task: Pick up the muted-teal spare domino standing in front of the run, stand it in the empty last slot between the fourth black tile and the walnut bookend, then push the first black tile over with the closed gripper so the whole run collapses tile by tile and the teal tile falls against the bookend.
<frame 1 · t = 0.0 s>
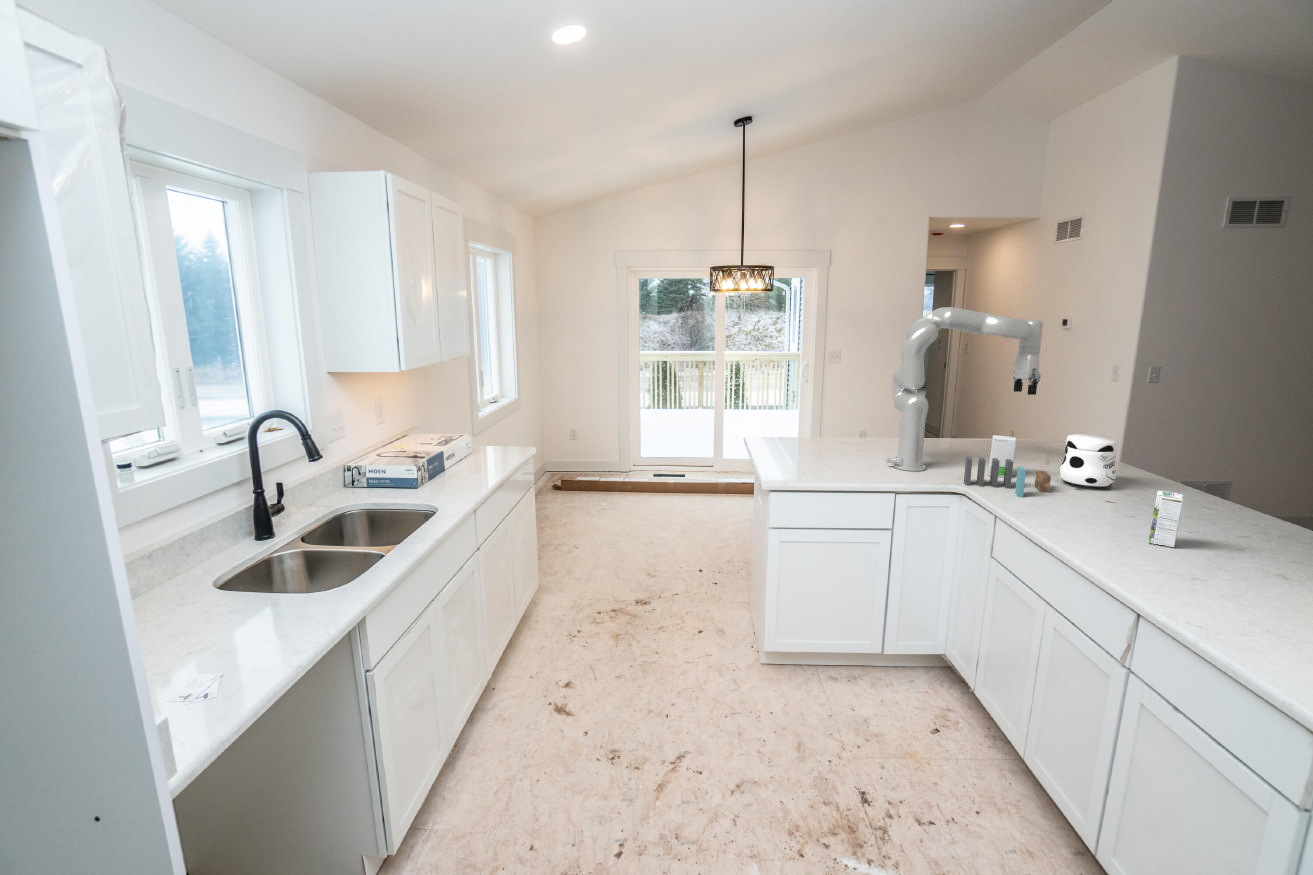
hand: (1024, 393, 251), 31 cm above the countertop, fingers open, 9 cm apart
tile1: (966, 483, 233), on the countertop
skincare box: (999, 475, 245), on the countertop
tile4: (1006, 486, 229), on the countertop
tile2: (979, 484, 232), on the countertop
syrup box: (1161, 544, 172), on the countertop
bookend: (1041, 489, 225), on the countertop
spare domino: (1018, 495, 218), on the countertop
spotted treat jar: (1085, 485, 230), on the countertop
tile3: (993, 485, 230), on the countertop
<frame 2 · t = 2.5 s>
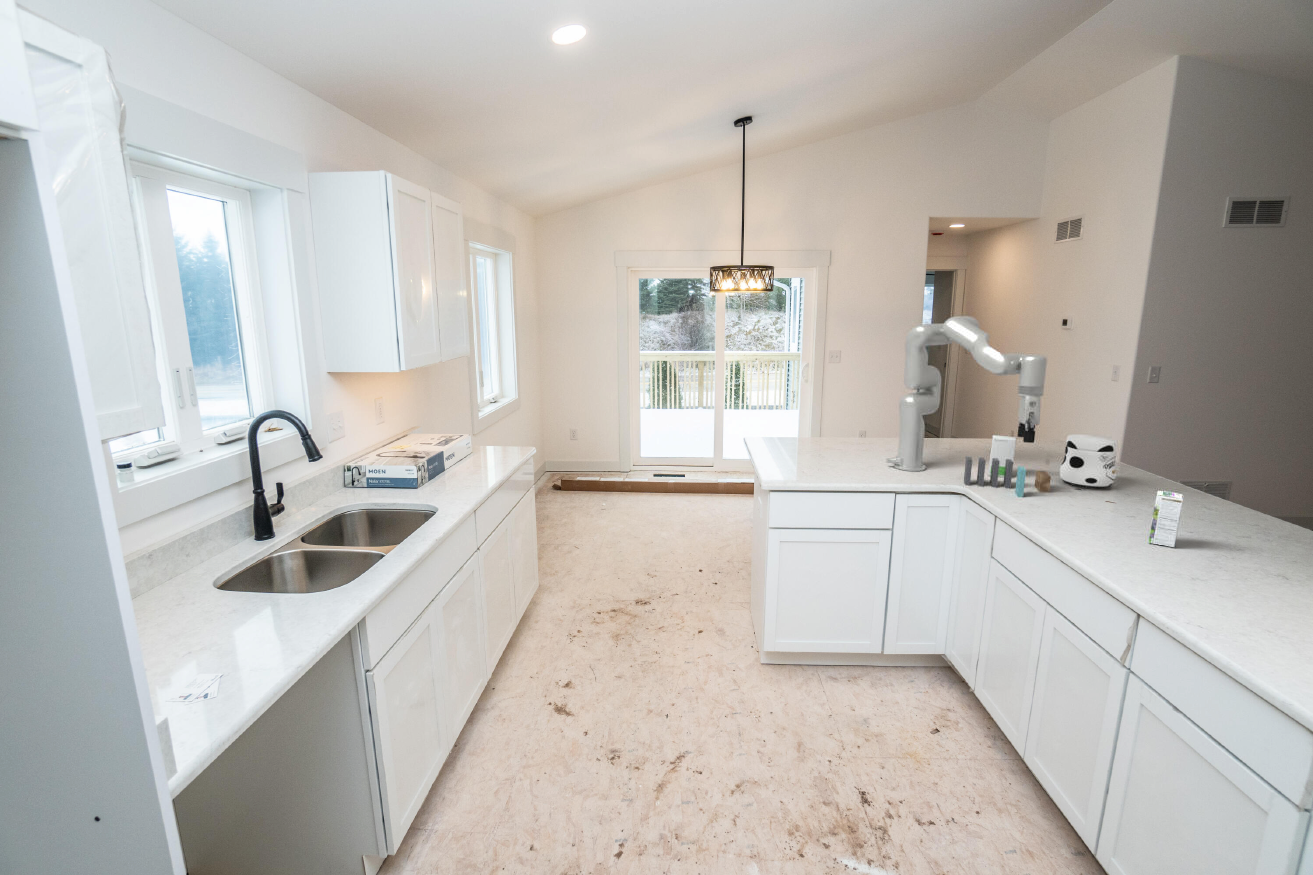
hand: (1025, 439, 214), 20 cm above the countertop, fingers open, 9 cm apart
nothing on the countertop moved.
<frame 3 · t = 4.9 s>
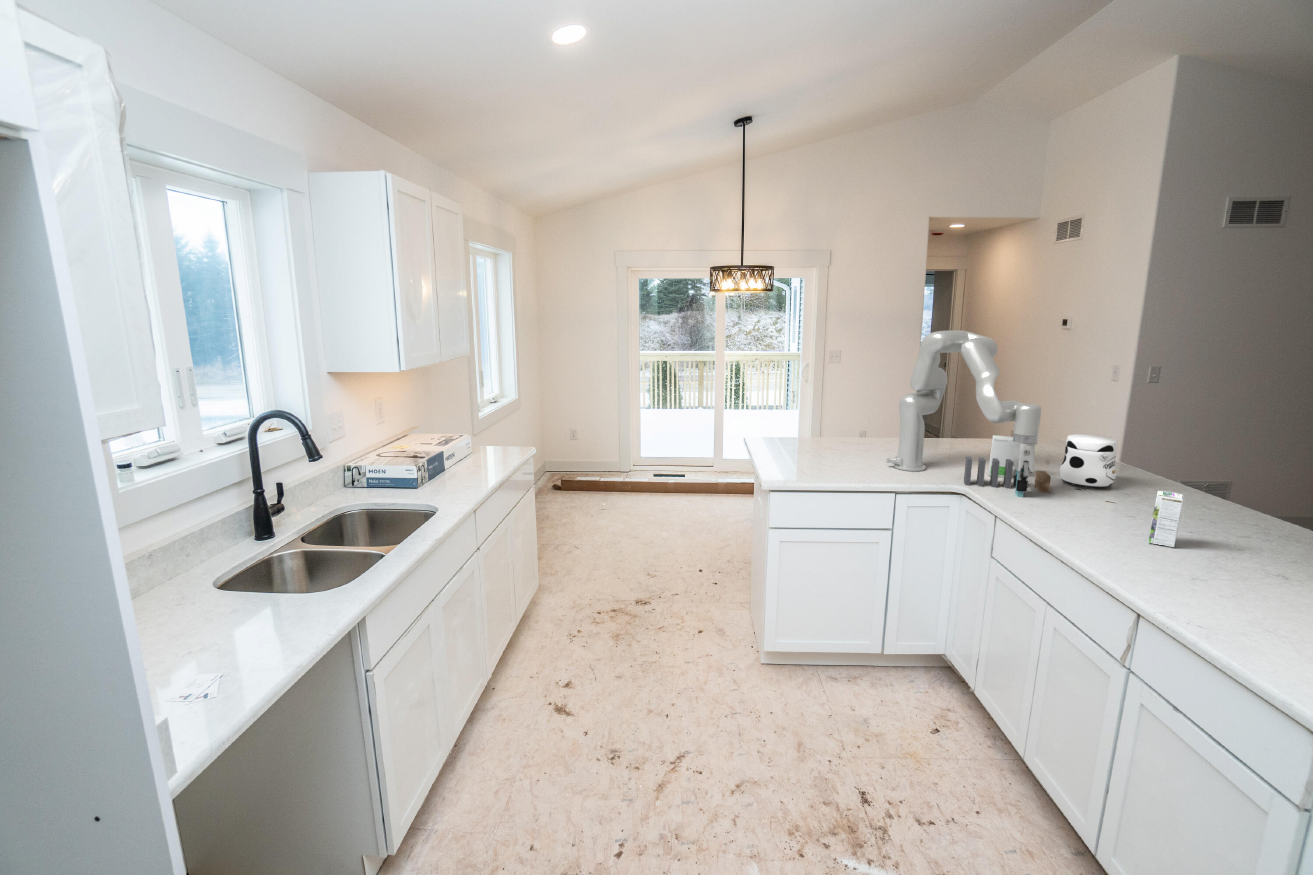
hand: (1019, 488, 218), 2 cm above the countertop, fingers closed on spare domino, 4 cm apart
spare domino: (1019, 495, 218), on the countertop, touching gripper
everything else where it was.
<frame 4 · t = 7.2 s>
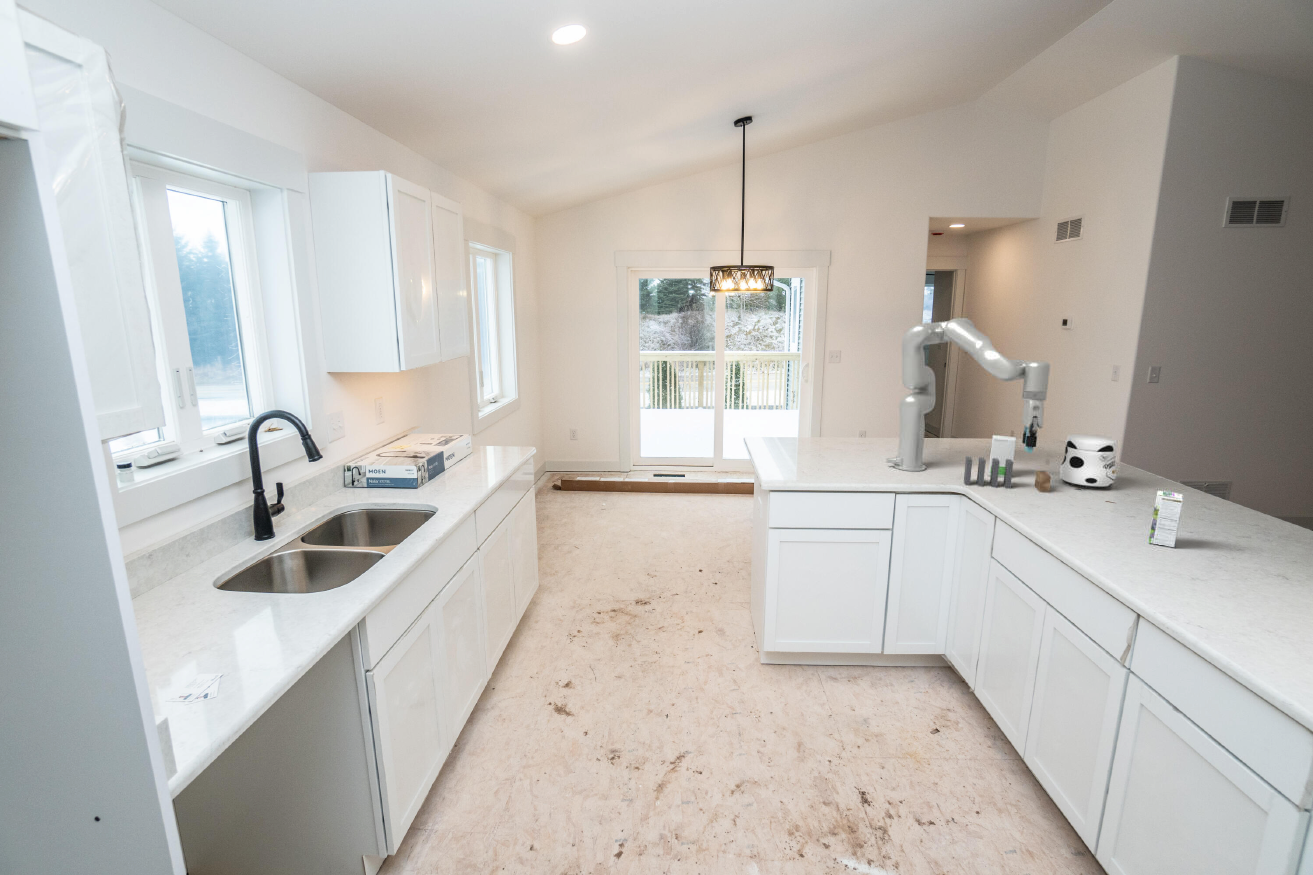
hand: (1028, 444, 224), 16 cm above the countertop, fingers closed on spare domino, 4 cm apart
spare domino: (1028, 451, 224), point 14 cm above the countertop, touching gripper
everything else where it was.
when the fingers open (3 cm above the countertop, at t = 9.9 s): spare domino stays where it is, on the countertop.
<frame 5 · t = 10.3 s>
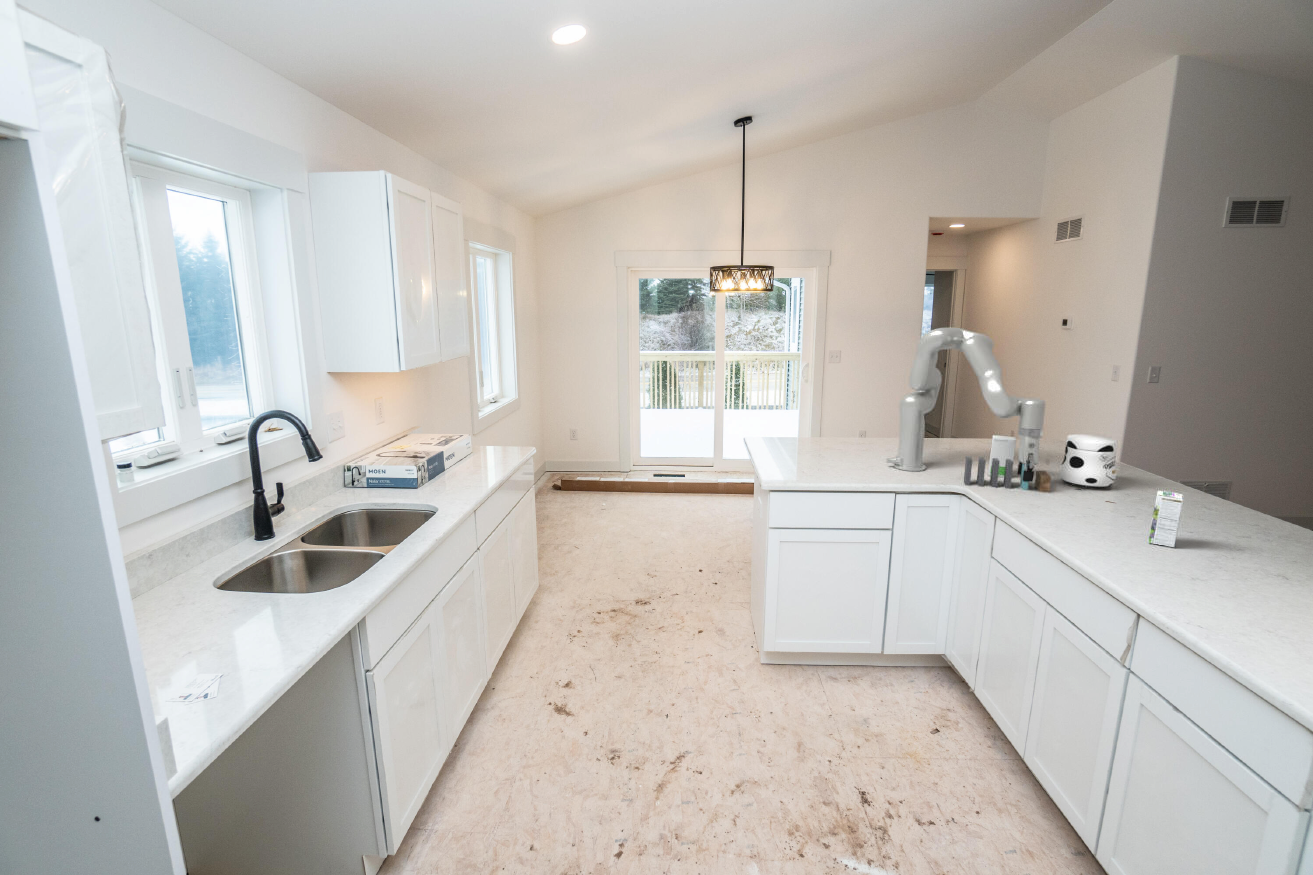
hand: (1024, 478, 226), 4 cm above the countertop, fingers open, 9 cm apart
spare domino: (1023, 487, 227), on the countertop
everything else where it was.
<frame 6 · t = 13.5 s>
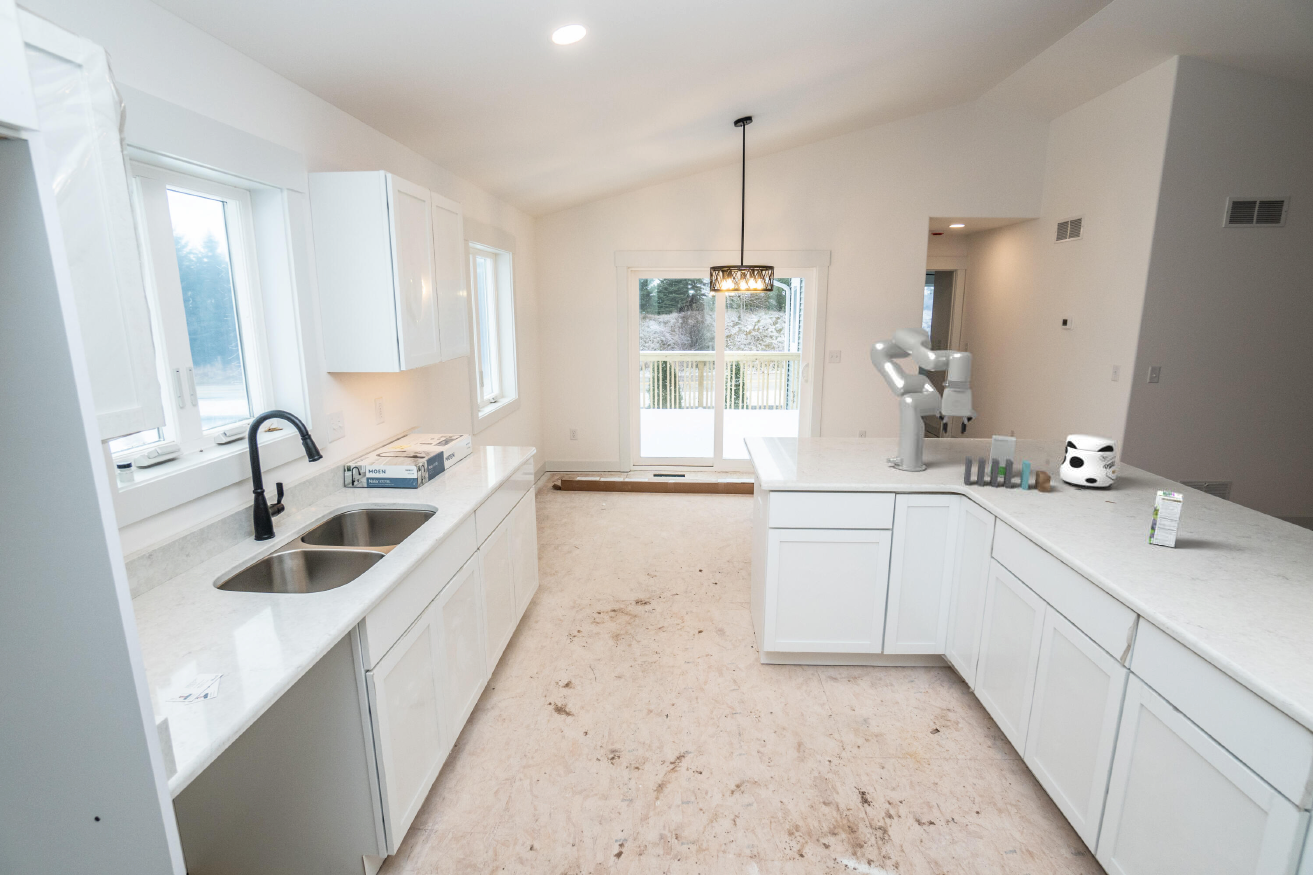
hand: (953, 432, 232), 19 cm above the countertop, fingers open, 5 cm apart
nothing on the countertop moved.
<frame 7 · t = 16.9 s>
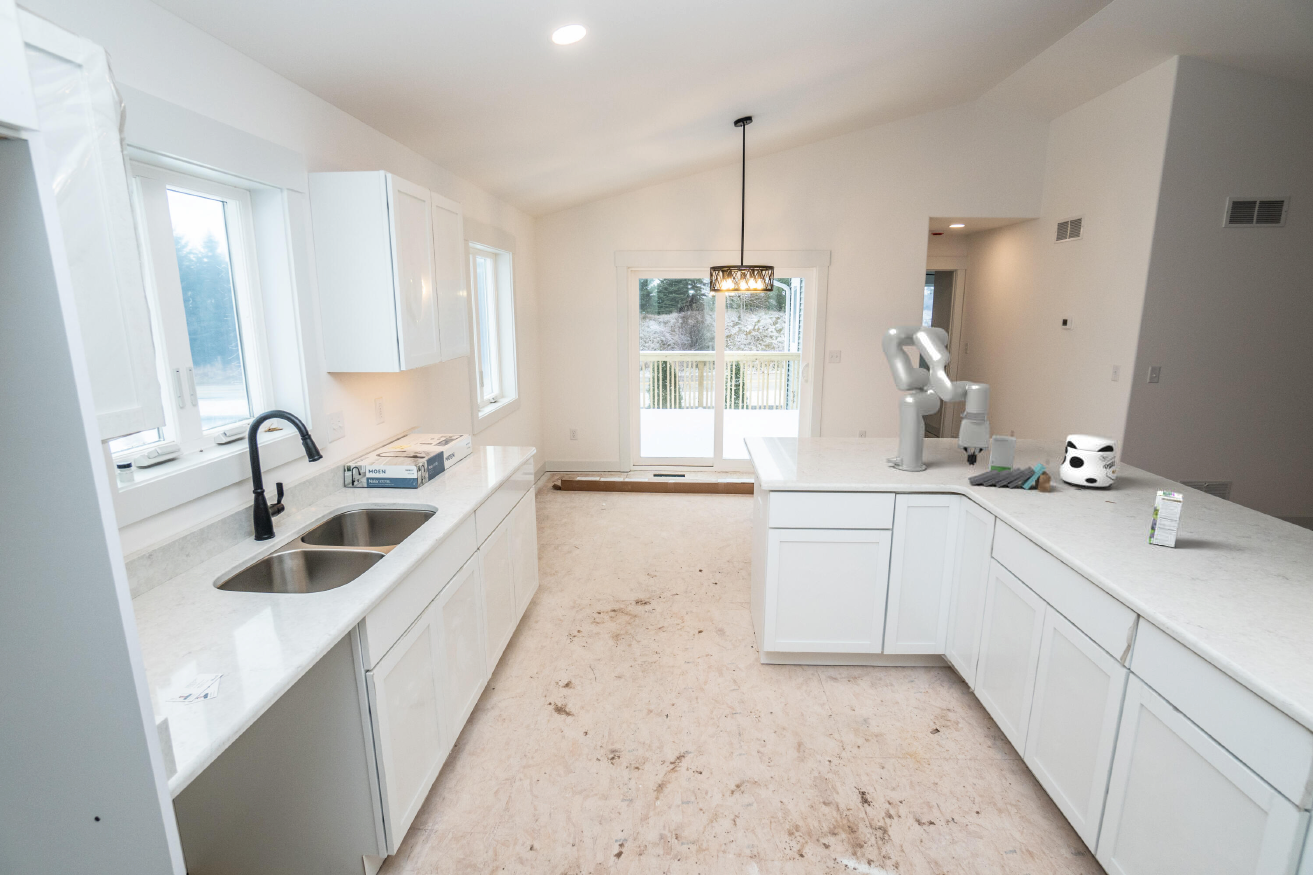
hand: (971, 464, 232), 8 cm above the countertop, fingers closed
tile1: (969, 482, 233), point 1 cm above the countertop, tilted 64°, touching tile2
tile4: (1007, 485, 229), point 1 cm above the countertop, tilted 48°, touching spare domino, tile3
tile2: (983, 482, 231), point 1 cm above the countertop, tilted 60°, touching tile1, tile3
spare domino: (1023, 486, 227), on the countertop, tilted 31°, touching bookend, tile4
tile3: (995, 484, 230), point 1 cm above the countertop, tilted 55°, touching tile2, tile4
everything else where it was.
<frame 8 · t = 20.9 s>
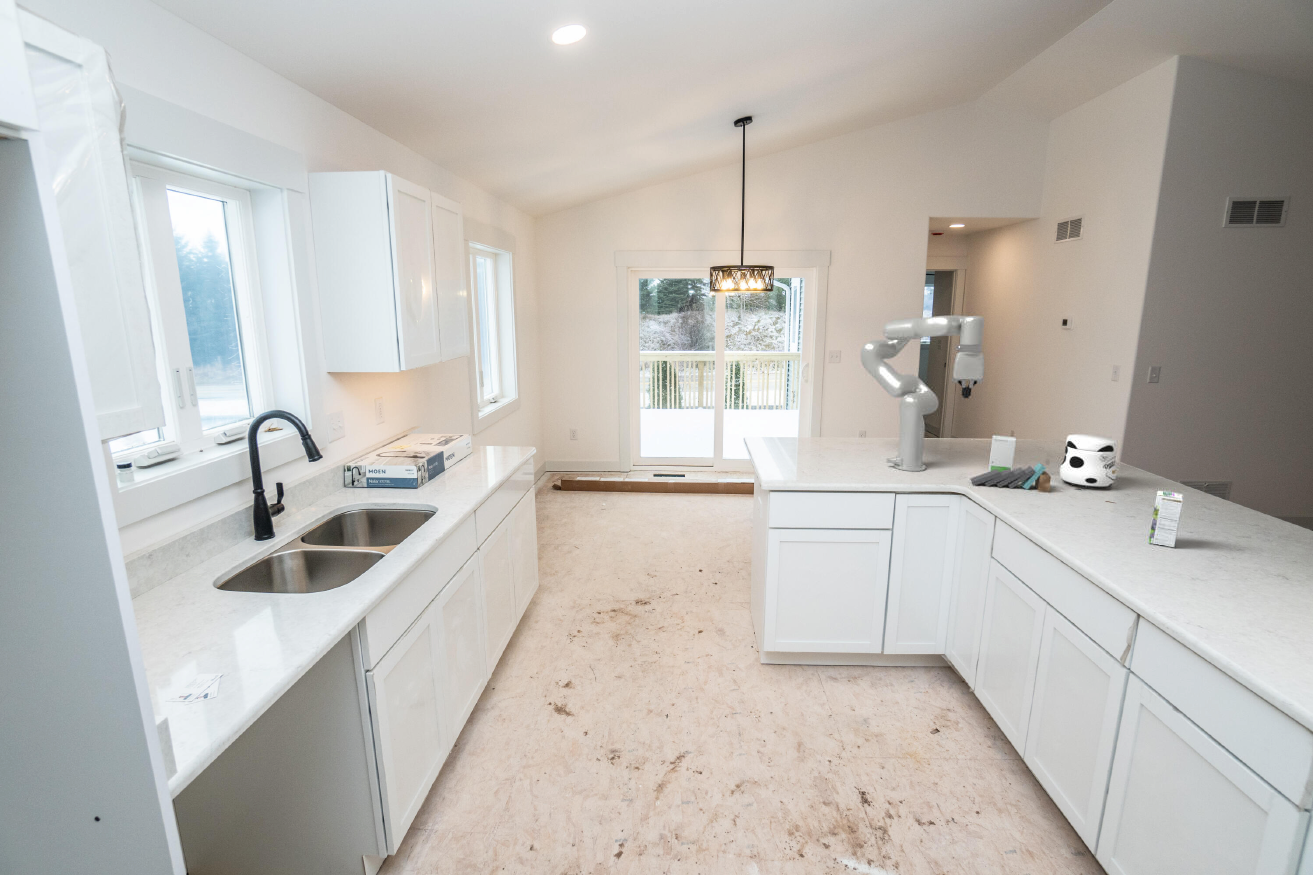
hand: (965, 397, 233), 32 cm above the countertop, fingers closed
at the end: spare domino tilted 31°; spare domino inside the target area (0.6 cm from its centre), on the countertop; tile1 tilted 63° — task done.
